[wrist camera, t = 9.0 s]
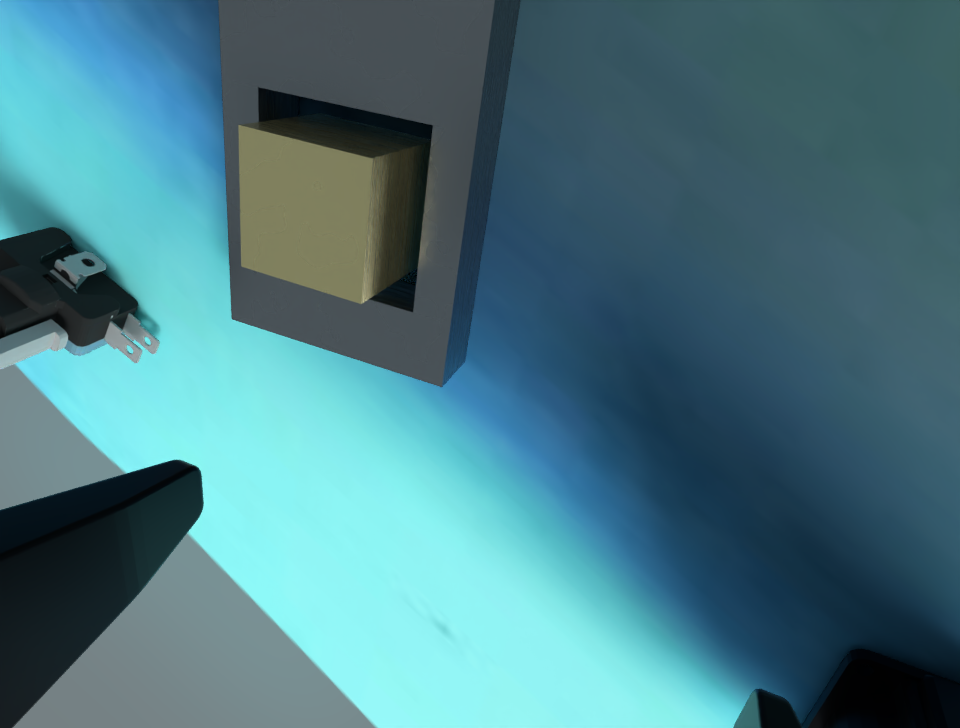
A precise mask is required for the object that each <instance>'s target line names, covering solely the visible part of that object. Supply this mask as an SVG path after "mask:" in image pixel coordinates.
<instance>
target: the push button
mask: <svg viewBox="0 0 960 728" xmlns="http://www.w3.org/2000/svg"><path fill="white" fill-rule="evenodd" d="M71 241H72V239H71V238H70V237H69V236H68V235H67V234H66V233H65V232H64V231H62V230H61V229H59V228H55V227H50V228H46V229H42V230H38V231H35V232H31V233H27V234H23V235H19V236H15V237H11V238H7V239H3V240H0V370H1V369H3V368H6V367H8V366H10V365H13V364H15V363H17V362H20V361H22V360H24V359H26V358H29V357H31V356H33V355H36V354H38V353H40V352H43V351H45V350H47V349H52V350H53V351H58V350H60V349H63V348H65V349H66V350H68V351H69V352H70V353H72V354H73V355H78V356H81V355H85V354H87V353H89V352H91V351H92V350H95V349H97V348H99V347H101V346H103V345H105V344H109V345H110V346H111V347H113V348H114V349H116V348H118V349H119V350H120V351H121V352H122V353H124V354H125V355H126V356H127V357H128V358H129V359H131V360H132V361H133V362H134V363H138V362H139V359H140V357H141V354H142V350H141V349H140V348H139V347H138V346H137V345H136V344H134V343H133V342H132V341H134V339H135V340H136V341H137V342H139V343H140V344H141V345H142V346H143V347H144V348H146V349H147V350H148V351H149V352H150V353H152V354H155V353H156V351H157V349H158V347H159V344H160V342H159V340H158V339H156V338H155V337H154V336H153V335H152V334H150V333H149V332H148V331H147V330H146V329H144V328H143V327H142V326H141V325H140V324H141V322H140V321H139V320H138V319H136V318H135V317H134V314H135V312H136V309H137V306H138V303H137V301H136V300H135V299H134V298H133V297H131V296H130V295H129V294H128V293H127V292H125V291H124V290H123V289H122V288H121V287H119V286H118V285H117V284H116V283H115V282H113V281H112V280H111V279H110V278H109V277H108V276H106V275H105V274H104V273H103V272H102V271H104V270H106V264H105V263H104V262H103V261H101V260H100V259H99V258H98V257H97V256H95V255H94V254H93V253H91V252H86V251H85V252H82V253H79V252H78V251H77V250H75V249H74V248H73V247H72V246H71ZM88 260H90V261H92V262H93V263H94V264H95V266H94V265H93V264H92V263H91V262H90V261H88ZM125 335H126V336H128V337H129V338H130V339H131V340H132V341H131V340H130V339H128V338H127V337H126V336H125ZM145 337H148V338H149V339H150V341H151V345H148V344H147V343H146V342H145V339H144V338H145ZM127 345H129V346H131V347H132V349H133V354H131V353H129V351H128V350H127Z"/></svg>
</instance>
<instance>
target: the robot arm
mask: <svg viewBox="0 0 960 728" xmlns="http://www.w3.org/2000/svg"><path fill="white" fill-rule="evenodd" d="M203 504H204V502H203V489H202V476H201V471H200V470H199V468H198V467H197V466H194V465H192V464H189V463H187V462H184V461H182V460H172V461H168V462H165V463H161V464H158V465H154V466H151V467H147V468H144V469H140V470H137V471H133V472H130V473H127V474H123V475H120V476H116V477H113V478H109V479H106V480H102V481H99V482H96V483H92V484H89V485H85V486H82V487H78V488H75V489H72V490H68V491H64V492H61V493H57V494H54V495H50V496H47V497H44V498H40V499H37V500H33V501H30V502H27V503H23V504H19V505H16V506H12V507H9V508H6V509H2V510H0V728H12V727H14V726H15V725H16V724H17V723H18V721H19V720H20V719H21V718H22V717H23V716H24V715H25V714H26V713H27V712H28V711H29V710H30V709H31V708H32V707H33V706H34V705H35V703H36V702H37V701H38V700H39V699H40V698H41V697H42V696H43V695H44V694H45V693H46V692H47V691H48V690H49V689H50V688H51V687H52V685H53V684H54V683H55V682H56V681H57V680H58V679H59V678H60V677H61V676H62V675H63V674H64V673H65V672H66V670H68V669H69V668H70V666H71V665H72V664H73V663H74V662H75V661H76V660H77V659H78V658H79V657H80V656H81V655H82V654H83V653H84V652H85V651H86V649H88V647H89V646H90V645H91V644H92V643H93V642H94V641H95V640H96V639H97V638H98V637H99V636H100V635H101V634H102V633H103V632H104V631H105V629H106V628H107V627H108V626H109V625H110V624H111V623H112V622H113V621H114V620H115V619H116V618H117V617H118V616H119V615H120V613H122V611H123V610H124V609H125V608H126V607H127V606H128V605H129V604H130V603H131V602H132V601H133V600H134V599H135V597H136V596H137V595H138V594H139V593H140V592H141V591H142V589H143V588H144V587H145V586H146V585H147V583H148V582H149V581H150V580H151V578H152V577H153V576H154V575H155V573H156V572H157V571H158V570H159V568H160V567H161V566H162V564H163V563H164V562H165V561H166V559H167V558H168V557H169V555H170V554H171V553H172V552H173V550H174V549H175V548H176V546H177V545H178V544H179V542H180V541H181V540H182V539H183V537H184V536H185V535H186V534H187V532H188V531H189V530H190V529H191V527H192V526H193V525H194V523H195V522H196V521H197V520H198V518H199V516H200V515H201V512H202V510H203ZM861 664H865V665H869V666H859V665H861ZM733 728H960V684H959V683H956V682H954V681H951V680H948V679H945V678H943V677H940V676H937V675H935V674H932V673H929V672H926V671H924V670H921V669H918V668H915V667H913V666H910V665H907V664H905V663H902V662H899V661H896V660H894V659H891V658H888V657H885V656H883V655H880V654H877V653H875V652H872V651H869V650H865V649H855V650H852V651H850V652H849V653H848V654H847V655H846V656H845V658H844V660H843V661H842V663H841V664H840V666H839V668H838V669H837V671H836V672H835V674H834V675H833V677H832V679H831V680H830V682H829V683H828V685H827V687H826V688H825V690H824V691H823V693H822V694H821V696H820V698H819V699H818V701H817V702H816V704H815V706H814V707H813V709H812V710H811V712H810V713H809V715H808V717H807V718H806V720H805V721H804V723H803V725H802V726H801V724H800V722H799V720H798V718H797V716H796V714H795V712H794V710H793V708H792V706H791V704H790V703H789V702H788V701H787V700H786V699H785V698H783V697H780V696H778V695H775V694H773V693H770V692H767V691H765V690H762V689H755V690H754V691H753V692H752V693H751V695H750V697H749V699H748V700H747V702H746V704H745V706H744V708H743V710H742V711H741V713H740V715H739V717H738V719H737V721H736V722H735V725H734V727H733Z"/></svg>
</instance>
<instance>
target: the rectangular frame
mask: <svg viewBox="0 0 960 728" xmlns="http://www.w3.org/2000/svg"><path fill="white" fill-rule="evenodd" d="M218 2H219V26H220V50H221V74H222V97H223V121H224V145H225V169H226V193H227V217H228V241H229V265H230V289H231V313H232V319H233V320H236V321H239V322H242V323H245V324H248V325H252V326H255V327H258V328H261V329H264V330H267V331H270V332H273V333H276V334H279V335H282V336H285V337H289V338H292V339H295V340H298V341H301V342H304V343H307V344H310V345H313V346H316V347H319V348H323V349H326V350H329V351H332V352H335V353H338V354H341V355H344V356H347V357H350V358H353V359H357V360H360V361H363V362H366V363H369V364H372V365H375V366H378V367H381V368H384V369H387V370H391V371H394V372H397V373H400V374H403V375H406V376H409V377H412V378H415V379H418V380H421V381H425V382H428V383H431V384H434V385H437V386H440V387H442V386H443V385H444V384H445V383H446V382H447V381H448V380H449V379H450V378H451V377H452V375H453V374H454V373H455V372H456V371H457V370H458V369H459V368H460V367H461V365H462V364H463V363H464V362H465V358H466V351H467V345H468V338H469V332H470V325H471V319H472V312H473V306H474V299H475V293H476V286H477V280H478V273H479V267H480V260H481V254H482V247H483V241H484V234H485V227H486V221H487V214H488V208H489V201H490V195H491V188H492V182H493V175H494V169H495V162H496V156H497V149H498V143H499V136H500V130H501V123H502V117H503V110H504V104H505V97H506V90H507V84H508V77H509V71H510V64H511V58H512V51H513V45H514V38H515V32H516V25H517V19H518V12H519V6H520V0H218ZM299 96H301V97H306V98H310V99H315V100H319V101H324V102H328V103H333V104H338V105H342V106H347V107H351V108H356V109H361V110H365V111H370V112H374V113H379V114H383V115H388V116H393V117H397V118H402V119H406V120H411V121H416V122H420V123H425V124H429V125H433V129H432V139H431V148H430V158H429V167H428V177H427V186H426V196H425V205H424V215H423V224H422V234H421V243H420V253H419V262H418V271H417V281H416V285H413V284H409V283H406V282H402V281H399V280H398V281H396V282H395V283H393V284H391V285H390V286H388V287H387V288H385V289H384V290H382V291H381V292H379V293H378V294H376V295H375V296H373V297H372V298H370V299H368V300H367V301H365V302H364V303H362V304H359V303H356V302H353V301H350V300H347V299H343V298H340V297H337V296H334V295H331V294H327V293H324V292H321V291H318V290H315V289H311V288H308V287H305V286H302V285H299V284H295V283H292V282H289V281H286V280H283V279H280V278H276V277H273V276H270V275H267V274H264V273H260V272H257V271H254V270H251V269H248V268H244V267H241V228H240V179H239V129H238V125H241V124H248V123H255V122H262V121H269V120H276V119H283V118H290V117H297V116H298V103H299Z"/></svg>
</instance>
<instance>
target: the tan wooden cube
mask: <svg viewBox="0 0 960 728" xmlns="http://www.w3.org/2000/svg"><path fill="white" fill-rule="evenodd" d="M238 129H239V179H240V228H241V267H244V268H248V269H251V270H254V271H257V272H260V273H264V274H267V275H270V276H273V277H276V278H280V279H283V280H286V281H289V282H292V283H295V284H299V285H302V286H305V287H308V288H311V289H315V290H318V291H321V292H324V293H327V294H331V295H334V296H337V297H340V298H343V299H347V300H350V301H353V302H356V303H359V304H362V303H364V302H365V301H367V300H368V299H370V298H372V297H373V296H375V295H376V294H378V293H379V292H381V291H382V290H384V289H385V288H387V287H388V286H390V285H391V284H393V283H395V282H396V281H398V280H399V279H401V278H402V277H404V276H405V275H407V274H408V273H410V272H411V271H413V270H414V269H416V268H418V262H419V253H420V243H421V234H422V224H423V215H424V205H425V196H426V186H427V177H428V167H429V158H430V148H431V139H427V138H423V137H418V136H414V135H410V134H406V133H402V132H397V131H393V130H389V129H385V128H381V127H376V126H372V125H368V124H364V123H360V122H355V121H351V120H347V119H343V118H339V117H334V116H330V115H326V114H322V113H318V114H311V115H304V116H297V117H290V118H283V119H276V120H269V121H262V122H255V123H248V124H241V125H238Z"/></svg>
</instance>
